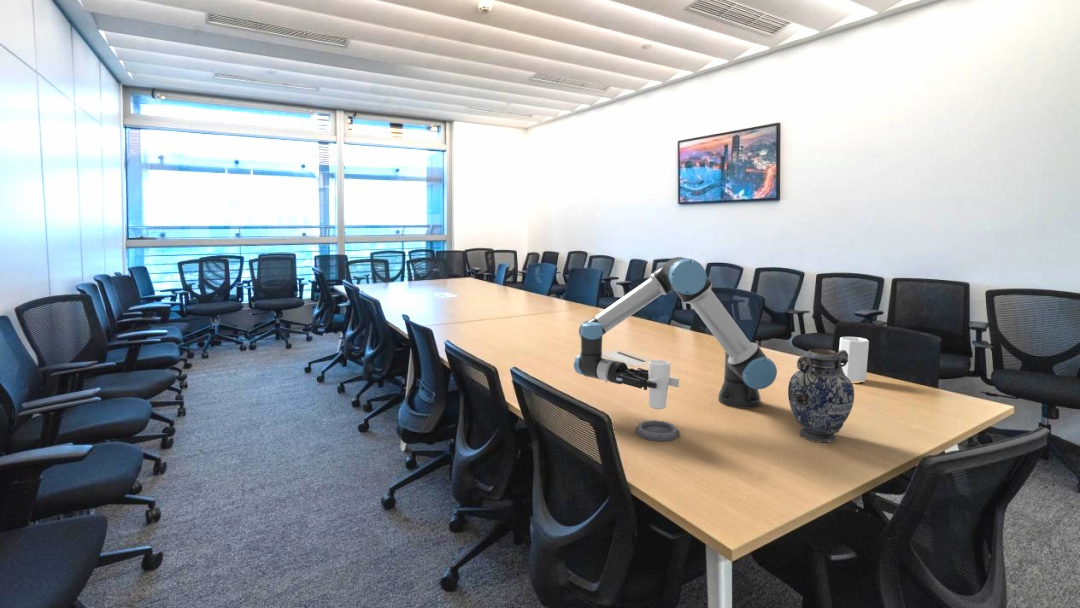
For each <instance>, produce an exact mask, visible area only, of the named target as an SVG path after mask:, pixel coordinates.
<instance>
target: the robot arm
mask: <svg viewBox="0 0 1080 608" xmlns="http://www.w3.org/2000/svg"><path fill="white" fill-rule="evenodd" d="M712 285H713V282H712V281H711V279H710V278H709V277H708V276H707V273H706V270H705V268H704V266H703V265H702V264H701V263H700V262H699V261H697V260H695V259H693V258H686V257H682V256H680V257H679V256H678V257H676V256H675V257H674V258H671V259H669V260H667V261H666V262H665V263H664V264H662V265H661V266H660V267H658V268H657V269H655V270H654V271H653V272H652V273H650V275H649V278H648V279H646V280H645V281H643V282H642V283H640V284H639V285H637V286H636V287H635V288H633V289H632V290H631V291H628V292H627V293H626V294H625V295H624V296H622V297H621V298H619V299H618V300H616V301H615V302H613V303H612V304H611V305H609V306H608V307H606V308H605V309H604V310H602V311H600V312H599V313H597V314H596V315H595V316H594V317H592V318H590V319H588V320H584V321H583V322H582V323H581V324H580V325H579V328H578V334H579V335H578V336H579V338H580V349H581V350H580V353H579V354H578V355H576V357H575V358H574V362H573V369H574V371H575V372H576V373H577V374H578V375H582V376H584V377H587V378H588V377H589V378H593V379H597V380H602V381H604V382H605V383H608V382H609V383H613V384H617V385H627V386H629V387H634V388H637V389H642V388H643V390H644V391H648V389H649V388H651V389H655V390H660V391H664V392H667V393H668V391H667V384H668V383H665V382H660V381H656V380H652V379H648V369H644V368H642V367H638V368H637V369H635V368H629V367H628V365H627V364H626V363H625V362H622V361H617V360H614V359H608V358H603V350H602V349H603V336H604V335H606V333H608V332H609V331H611V330H612V329H613V328H615V327H616V326H619V325H620V324H621V323H622V322H624V321H625V320H626V319H628V318H630V317H632V316H633V315H634V314H635V313H637V312H638V311H640V310H642V308H644V307H646V306H647V305H649V304H650V303H651V302H652V301H653V302H654V300H656V299H657V298H658V297H661V296H662V295H664V296H666V295H668V294H669V293H672V292H673V291H675V293H676V294H677V295H678V297H679V298H680V300H681V301H682V302H683V303H684V304H689V305H690V306H691V307H692V308H693V309H694V312H695V313H696V314H697V315H698V316H699V317H700V319H701V320H702V321H703V323H704V325H706V327H707V329H708V330H709V331H710V332H711V334H712V336H714V338H715V340H717V342H718V343H719V345H720V346H721V348H723V350H724V353H725V355H724V374H723V375H724V378H723V379H724V380H723V383H722V385H721V388H720V390H719V393H718V402H719V403H721V404H723V405H725V406H728V407H732V408H740V409H752V408H758V407H759V406H760V405H761V400H762V399H761V396H760V392H759V390H763V389H766V388H768V387H770V386H771V385H772V384H773V383H775V380H776V379H777V375H778V369H777V366H776V364H775V363H774V361H773V360H771V358H770V357H767V355H766V354H765V353H764V352H763V350H762V349H761V347H760V346H759V345H758V343H756V342H752V341H750V340H749V339H748V338H747V336H746V335H745V333H744V332H743V331H742V329H741V328H740V327H739V325H738V323H736V321H735V320H734V319H733V317H732V316H731V314H730V313H729V312H728V310H727V309H726V307H725V306H724V305H723V303H722V302H721V301H720V299H719V298H718V297H717V296H716V294H715V293H714V292H713V290H712ZM668 386H670V387H675V388H679V387H680V378H677V377H674V376H673V377H672V376H670V377H669V384H668Z"/></svg>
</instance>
